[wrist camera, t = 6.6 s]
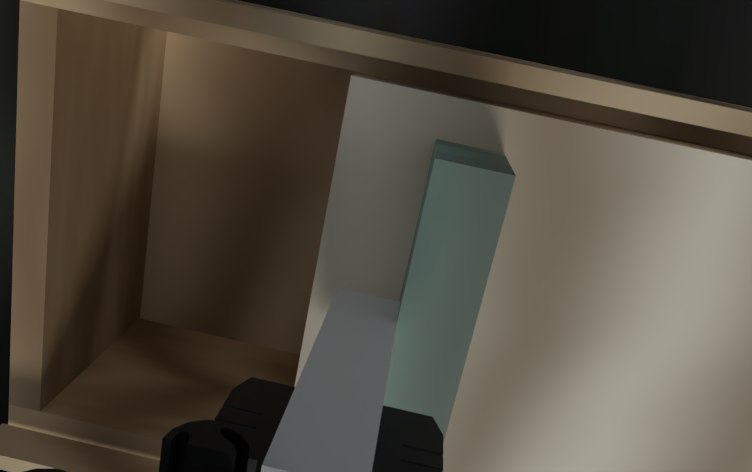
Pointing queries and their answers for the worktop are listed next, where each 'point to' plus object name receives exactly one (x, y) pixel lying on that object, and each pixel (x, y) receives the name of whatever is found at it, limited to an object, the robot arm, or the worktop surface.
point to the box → (210, 201)
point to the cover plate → (546, 282)
